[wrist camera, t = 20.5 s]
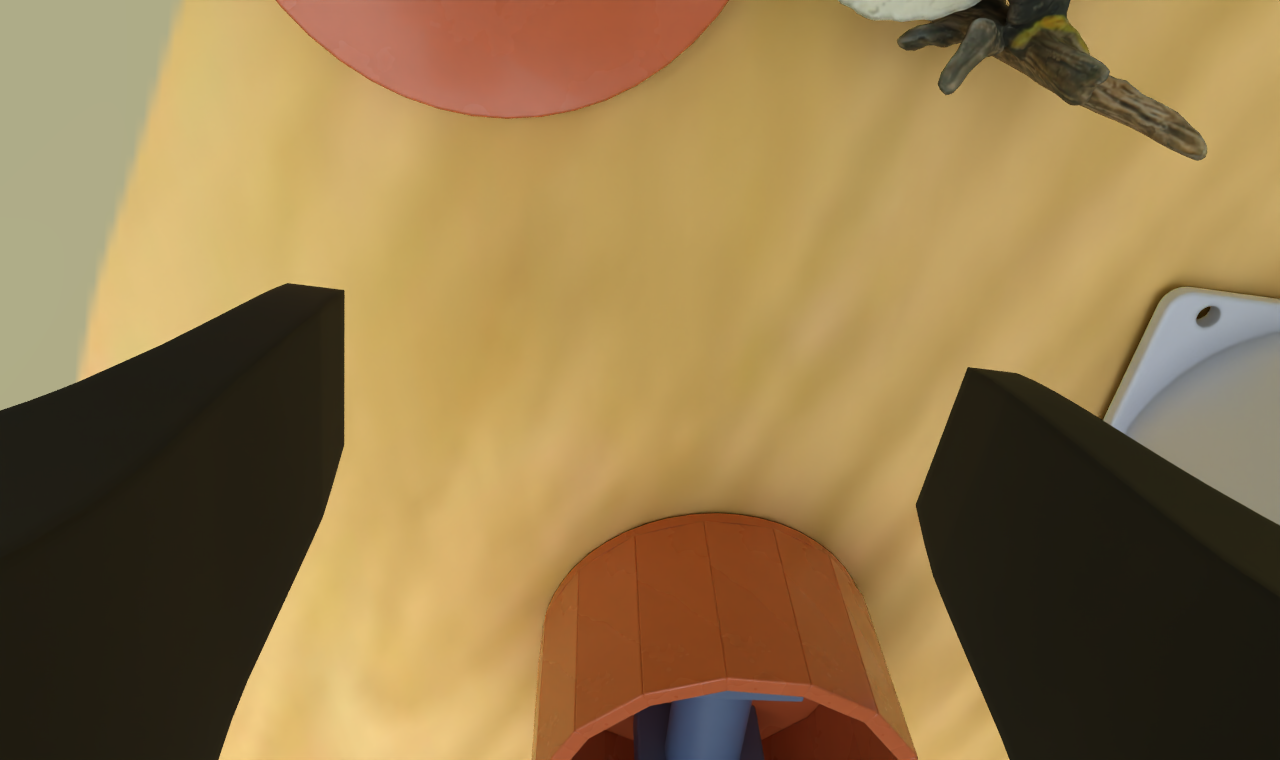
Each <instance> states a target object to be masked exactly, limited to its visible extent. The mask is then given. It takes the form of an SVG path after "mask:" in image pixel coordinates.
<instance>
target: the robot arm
mask: <svg viewBox="0 0 1280 760" xmlns="http://www.w3.org/2000/svg"><path fill="white" fill-rule="evenodd" d="M1209 306H1211V307H1210V311H1209V312H1208V313H1207V314H1206V316H1204V317H1202V318H1200V319H1196V318H1197V315H1198V314H1199V312H1200V311H1201V310H1202V309H1204V308H1206V307H1209ZM343 447H344V290H338V289H330V288H322V287H314V286H305V285H297V284H289V283H287V284H284V285H282V286H279V287H276V288H274V289H272V290H269V291H267V292H265V293H263V294H261V295H259V296H257V297H255V298H253V299H251V300H249V301H247V302H245V303H243V304H241V305H239V306H237V307H235V308H233V309H231V310H230V311H228V312H226V313H224V314H222V315H220V316H218V317H216V318H214V319H212V320H210V321H208V322H206V323H204V324H202V325H200V326H198V327H196V328H194V329H192V330H190V331H188V332H186V333H184V334H182V335H180V336H178V337H176V338H174V339H172V340H170V341H168V342H166V343H164V344H162V345H160V346H158V347H156V348H153V349H151V350H149V351H147V352H145V353H142V354H140V355H138V356H136V357H133V358H131V359H129V360H127V361H124V362H122V363H120V364H118V365H115V366H113V367H111V368H109V369H106V370H104V371H102V372H100V373H97V374H95V375H93V376H91V377H88V378H86V379H84V380H82V381H79V382H77V383H74V384H72V385H69V386H67V387H64V388H62V389H60V390H57V391H54V392H52V393H49V394H46V395H44V396H41V397H38V398H36V399H33V400H30V401H28V402H24V403H21V404H18V405H16V406H13V407H10V408H7V409H4V410H1V411H0V760H218V759H219V756H220V753H221V750H222V747H223V744H224V741H225V738H226V735H227V732H228V729H229V726H230V723H231V720H232V718H233V715H234V713H235V710H236V708H237V705H238V703H239V701H240V698H241V696H242V693H243V691H244V688H245V686H246V683H247V681H248V679H249V676H250V674H251V672H252V670H253V668H254V666H255V663H256V661H257V659H258V657H259V655H260V653H261V651H262V648H263V646H264V644H265V642H266V640H267V638H268V635H269V633H270V631H271V629H272V627H273V625H274V622H275V620H276V618H277V616H278V614H279V612H280V610H281V607H282V605H283V603H284V601H285V599H286V597H287V594H288V592H289V590H290V588H291V586H292V584H293V582H294V579H295V577H296V575H297V573H298V571H299V569H300V566H301V564H302V562H303V560H304V558H305V555H306V553H307V551H308V549H309V547H310V544H311V542H312V540H313V538H314V536H315V533H316V531H317V529H318V527H319V524H320V522H321V520H322V518H323V515H324V511H325V508H326V505H327V502H328V498H329V495H330V492H331V489H332V485H333V482H334V479H335V475H336V472H337V468H338V464H339V461H340V457H341V454H342V450H343ZM916 508H917V513H918V517H919V522H920V526H921V531H922V535H923V539H924V544H925V548H926V551H927V555H928V559H929V562H930V566H931V570H932V573H933V577H934V579H935V582H936V584H937V587H938V589H939V592H940V594H941V597H942V599H943V602H944V604H945V607H946V609H947V611H948V614H949V616H950V619H951V621H952V623H953V626H954V628H955V631H956V633H957V635H958V638H959V640H960V642H961V645H962V647H963V649H964V652H965V654H966V656H967V659H968V661H969V663H970V666H971V668H972V670H973V673H974V675H975V677H976V680H977V682H978V684H979V687H980V689H981V691H982V694H983V696H984V698H985V701H986V703H987V705H988V708H989V710H990V712H991V715H992V717H993V719H994V722H995V724H996V726H997V729H998V731H999V734H1000V736H1001V738H1002V741H1003V743H1004V746H1005V749H1006V751H1007V754H1008V757H1009V759H1010V760H1280V299H1276V298H1268V297H1261V296H1254V295H1246V294H1239V293H1232V292H1225V291H1217V290H1210V289H1203V288H1195V287H1179V288H1176V289H1174V290H1171V291H1170V292H1169V293H1167V294H1166V295H1165V296H1163V298H1162V299H1161V301H1160V302H1159V303H1158V305H1157V307H1156V309H1155V312H1154V314H1153V316H1152V318H1151V320H1150V322H1149V324H1148V326H1147V328H1146V330H1145V333H1144V335H1143V337H1142V339H1141V341H1140V343H1139V345H1138V347H1137V349H1136V352H1135V354H1134V356H1133V358H1132V360H1131V362H1130V364H1129V366H1128V368H1127V370H1126V373H1125V375H1124V377H1123V379H1122V381H1121V383H1120V385H1119V387H1118V389H1117V391H1116V394H1115V396H1114V398H1113V400H1112V402H1111V404H1110V406H1109V408H1108V410H1107V413H1106V415H1105V417H1104V419H1103V420H1101V419H1100V418H1098V417H1096V416H1095V415H1093V414H1092V413H1090V412H1088V411H1087V410H1085V409H1084V408H1082V407H1080V406H1079V405H1077V404H1075V403H1074V402H1072V401H1070V400H1068V399H1067V398H1065V397H1063V396H1061V395H1060V394H1058V393H1056V392H1055V391H1053V390H1051V389H1049V388H1047V387H1045V386H1043V385H1042V384H1040V383H1038V382H1036V381H1034V380H1031V379H1029V378H1027V377H1025V376H1022V375H1020V374H1017V373H1011V372H1002V371H994V370H986V369H978V368H970V367H968V368H967V371H966V373H965V376H964V379H963V381H962V384H961V387H960V389H959V392H958V395H957V397H956V400H955V402H954V405H953V408H952V410H951V413H950V416H949V418H948V421H947V424H946V426H945V429H944V432H943V434H942V437H941V439H940V442H939V445H938V447H937V450H936V453H935V455H934V458H933V461H932V463H931V466H930V469H929V471H928V474H927V476H926V479H925V482H924V484H923V487H922V490H921V492H920V495H919V498H918V500H917V503H916Z"/></svg>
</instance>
